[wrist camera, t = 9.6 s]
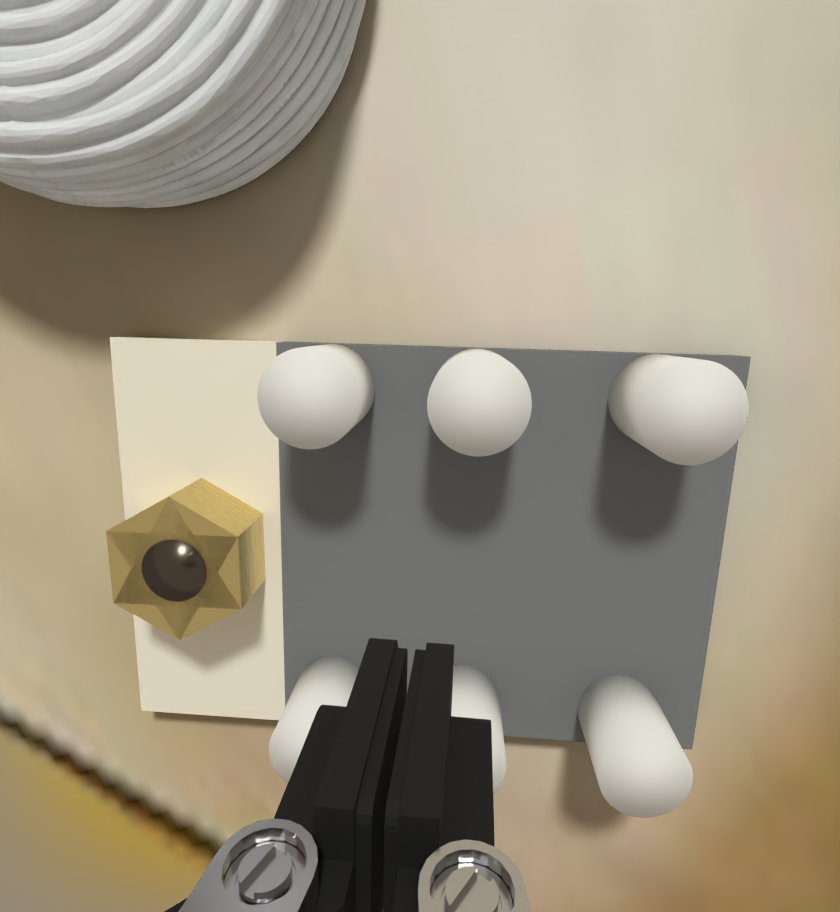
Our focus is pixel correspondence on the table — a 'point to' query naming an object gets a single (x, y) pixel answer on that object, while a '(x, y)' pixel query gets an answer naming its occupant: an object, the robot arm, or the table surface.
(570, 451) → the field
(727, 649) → the table surface
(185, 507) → the nut
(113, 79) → the cable
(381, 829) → the robot arm
